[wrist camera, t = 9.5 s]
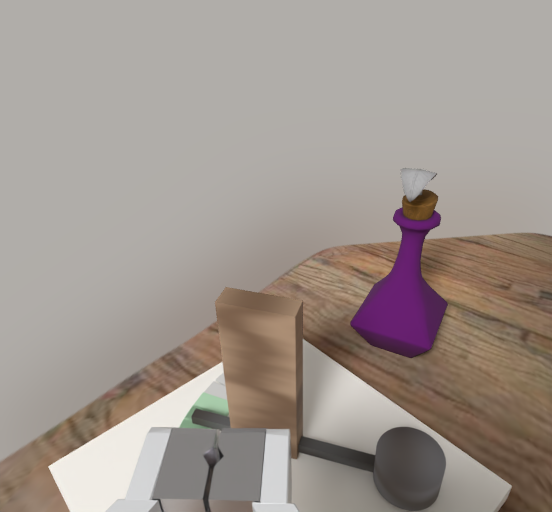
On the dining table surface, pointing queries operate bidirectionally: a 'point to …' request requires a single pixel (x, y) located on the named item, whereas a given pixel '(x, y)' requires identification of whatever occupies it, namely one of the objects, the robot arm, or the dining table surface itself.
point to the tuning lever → (289, 398)
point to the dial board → (305, 469)
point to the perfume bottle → (405, 280)
